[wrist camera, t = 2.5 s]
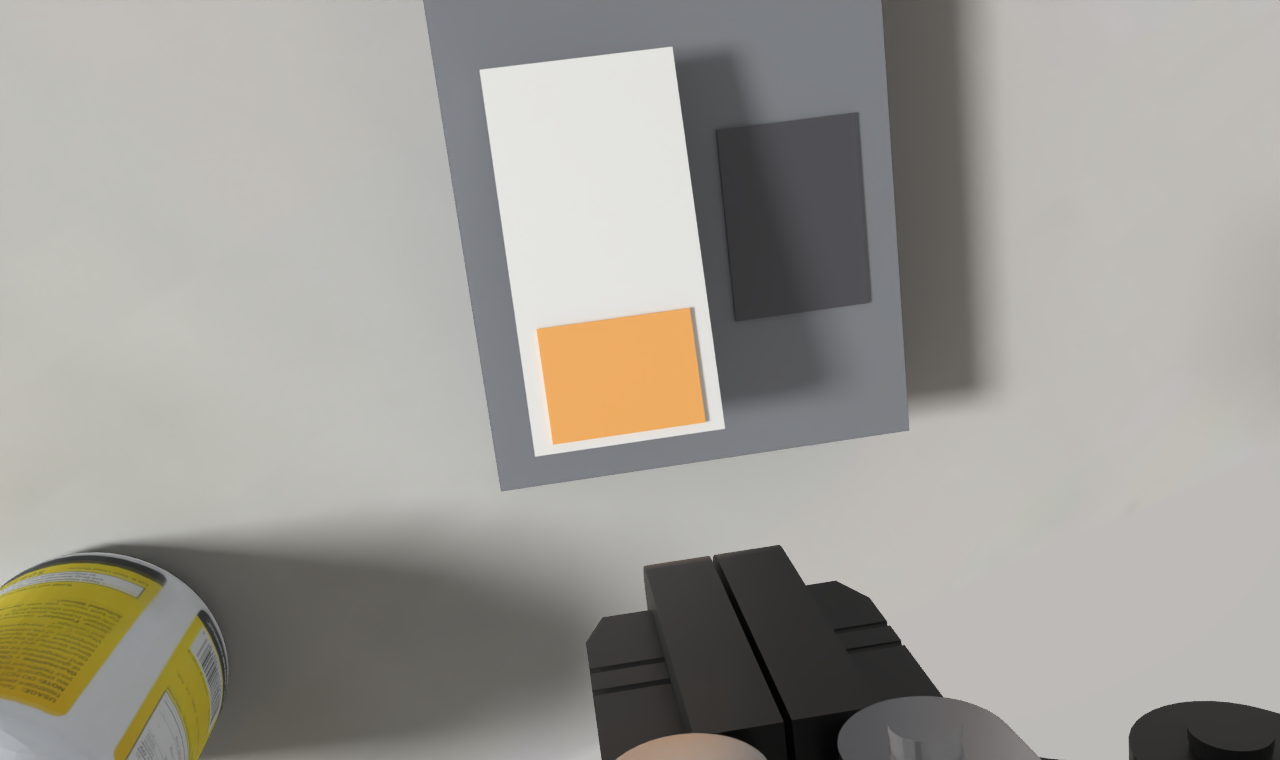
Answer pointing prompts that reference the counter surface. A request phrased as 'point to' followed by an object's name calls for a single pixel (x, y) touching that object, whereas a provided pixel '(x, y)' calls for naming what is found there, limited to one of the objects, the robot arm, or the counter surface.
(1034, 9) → the counter surface
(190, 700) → the pill bottle
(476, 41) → the power strip
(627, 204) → the rocker outer
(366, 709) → the counter surface
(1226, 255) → the counter surface
